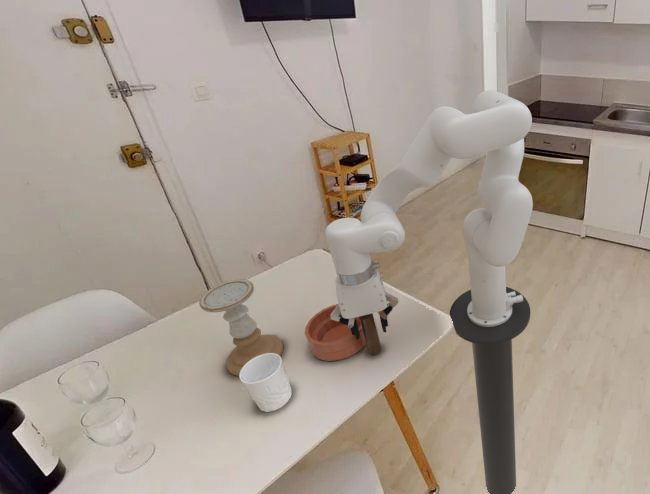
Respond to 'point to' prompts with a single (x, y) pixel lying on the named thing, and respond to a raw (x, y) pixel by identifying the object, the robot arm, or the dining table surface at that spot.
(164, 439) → the dining table surface
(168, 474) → the dining table surface
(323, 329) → the bowl
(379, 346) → the dark brown cylinder
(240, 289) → the candle holder
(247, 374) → the white cup
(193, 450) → the dining table surface
